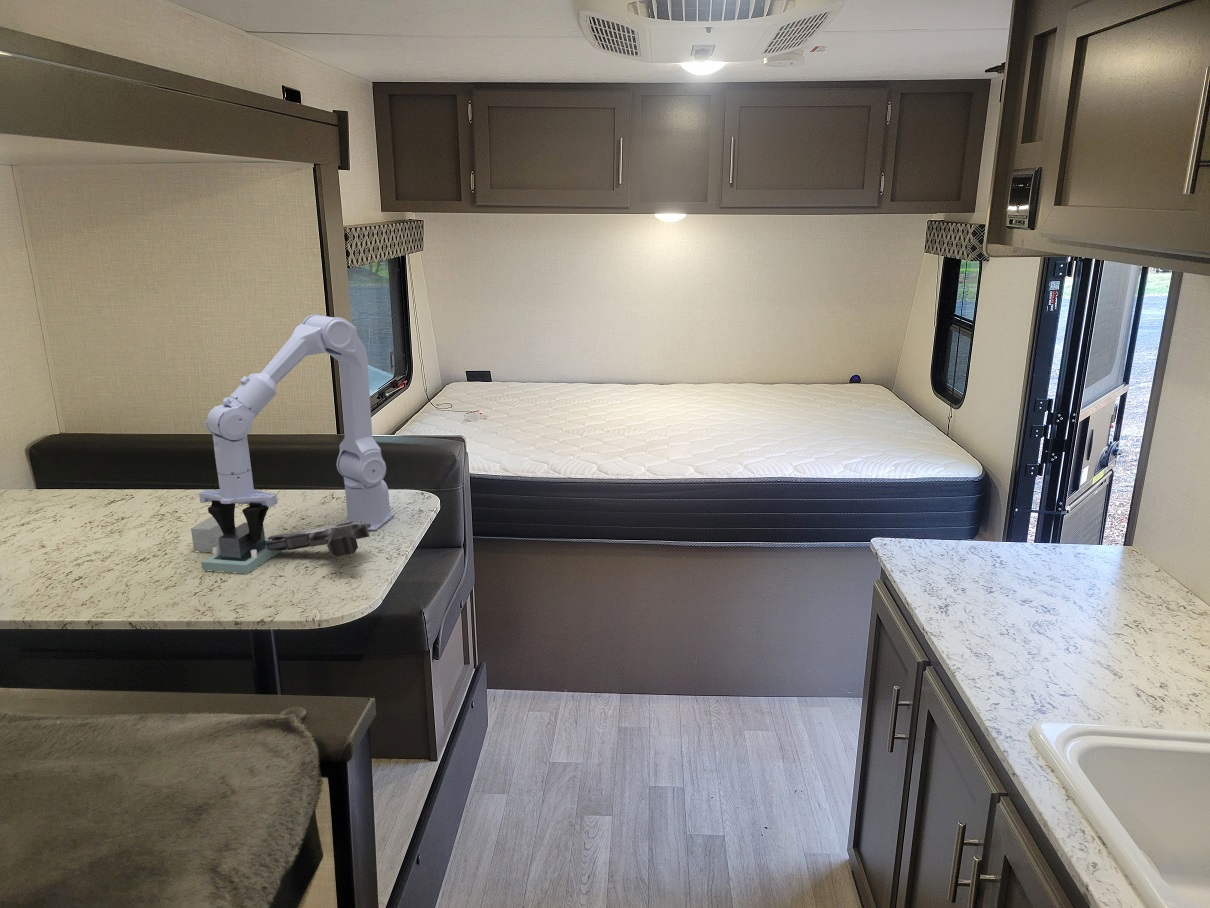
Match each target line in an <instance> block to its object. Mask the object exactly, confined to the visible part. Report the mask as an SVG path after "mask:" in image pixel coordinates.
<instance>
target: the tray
mask: <svg viewBox="0 0 1210 908" xmlns="http://www.w3.org/2000/svg"><path fill="white" fill-rule="evenodd" d="M268 541H272V539H269V540H268V537H265V543H267V542H268ZM212 549H213V553H212V554H211V555H210V556H208V557H207V558H206V559H204V560H202V561H201V569H202V570H201V571H203V570H212V571H224V572H236V573H246V574H245V575H249V574H250V573H249V572H250V571H252V570H253V569H255V568H256V567H258V566H259V565H260V564H262V563H263V564H265V563H266V562H268V561H269V560H271V559H272V558H274V557H275V556H276V555H277V553H278V554H279V553H281V552H282V551H281V550H280V551H281V552H280V551H275V550H268V549H267V545H266V548H264V549H263V550H261V551H260V552H259V553H257V550H256V549H253V550H251V558H250V559H248V560H247V561H231V560H221V553H220V549H218V547H213V548H212ZM274 555H275V556H274ZM271 557H272V558H271ZM270 558H271V559H270ZM268 559H269V560H268ZM267 560H268V561H267ZM265 561H266V562H265ZM264 562H265V563H264ZM263 564H262V565H263ZM259 567H260V566H259ZM259 567H258V568H259ZM256 569H257V568H256ZM256 569H255V570H256ZM253 571H254V570H253ZM253 571H252V572H253ZM248 573H249V574H248Z"/></svg>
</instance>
